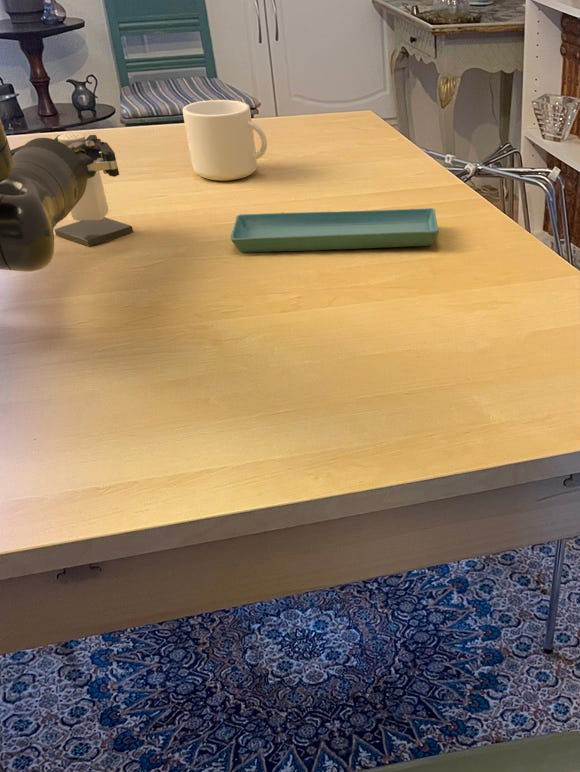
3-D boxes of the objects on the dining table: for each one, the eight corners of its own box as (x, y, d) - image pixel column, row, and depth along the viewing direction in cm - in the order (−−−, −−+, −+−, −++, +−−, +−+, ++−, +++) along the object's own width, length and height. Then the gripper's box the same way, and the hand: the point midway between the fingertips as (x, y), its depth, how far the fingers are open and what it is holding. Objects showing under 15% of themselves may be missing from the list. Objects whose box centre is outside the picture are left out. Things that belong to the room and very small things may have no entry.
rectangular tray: (232, 255, 118) (228, 235, 116) (239, 230, 125) (236, 211, 123) (439, 251, 120) (439, 231, 118) (435, 226, 127) (434, 207, 125)
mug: (283, 166, 146) (275, 101, 140) (260, 186, 139) (250, 118, 133) (210, 161, 148) (199, 96, 142) (183, 181, 140) (171, 113, 134)
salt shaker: (103, 221, 120) (83, 140, 114) (71, 222, 120) (49, 140, 114) (110, 212, 123) (91, 132, 117) (79, 212, 123) (58, 132, 117)
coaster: (89, 246, 120) (87, 240, 119) (55, 235, 123) (53, 229, 122) (133, 232, 124) (132, 225, 123) (99, 221, 127) (98, 214, 126)
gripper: (97, 146, 104) (129, 110, 117) (-34, 148, 103) (13, 111, 116) (114, 217, 109) (143, 175, 122) (-11, 219, 108) (32, 176, 121)
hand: (79, 144), depth 119 cm, fingers closed on salt shaker, 3 cm apart
